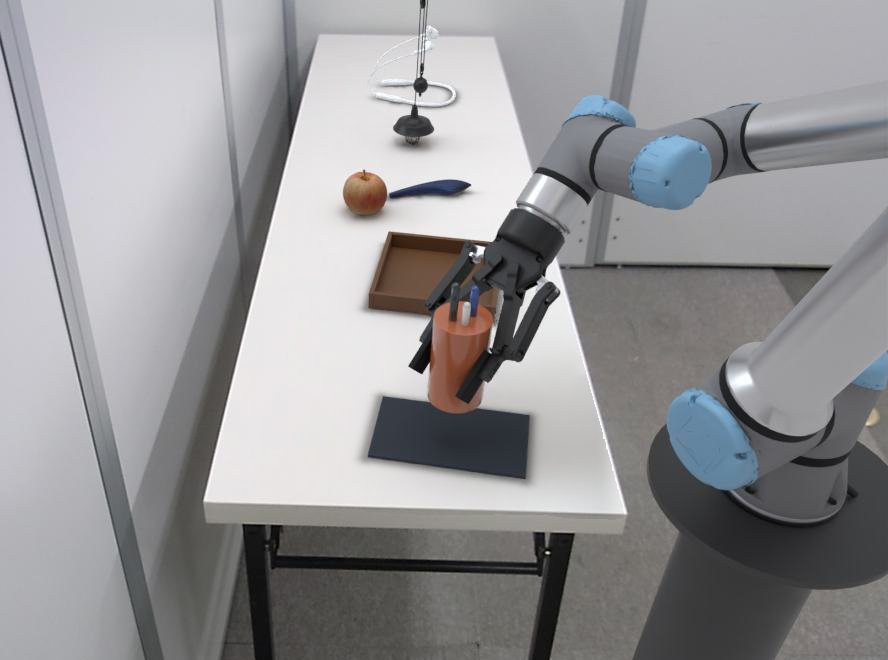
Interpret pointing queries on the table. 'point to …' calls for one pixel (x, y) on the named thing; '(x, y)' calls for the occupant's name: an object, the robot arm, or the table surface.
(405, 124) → the light fixture
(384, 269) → the tray
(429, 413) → the mat
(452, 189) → the tapered navy handle
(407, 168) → the table surface
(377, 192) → the apple
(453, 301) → the pen pot
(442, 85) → the earphone
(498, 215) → the table surface
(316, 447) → the table surface
